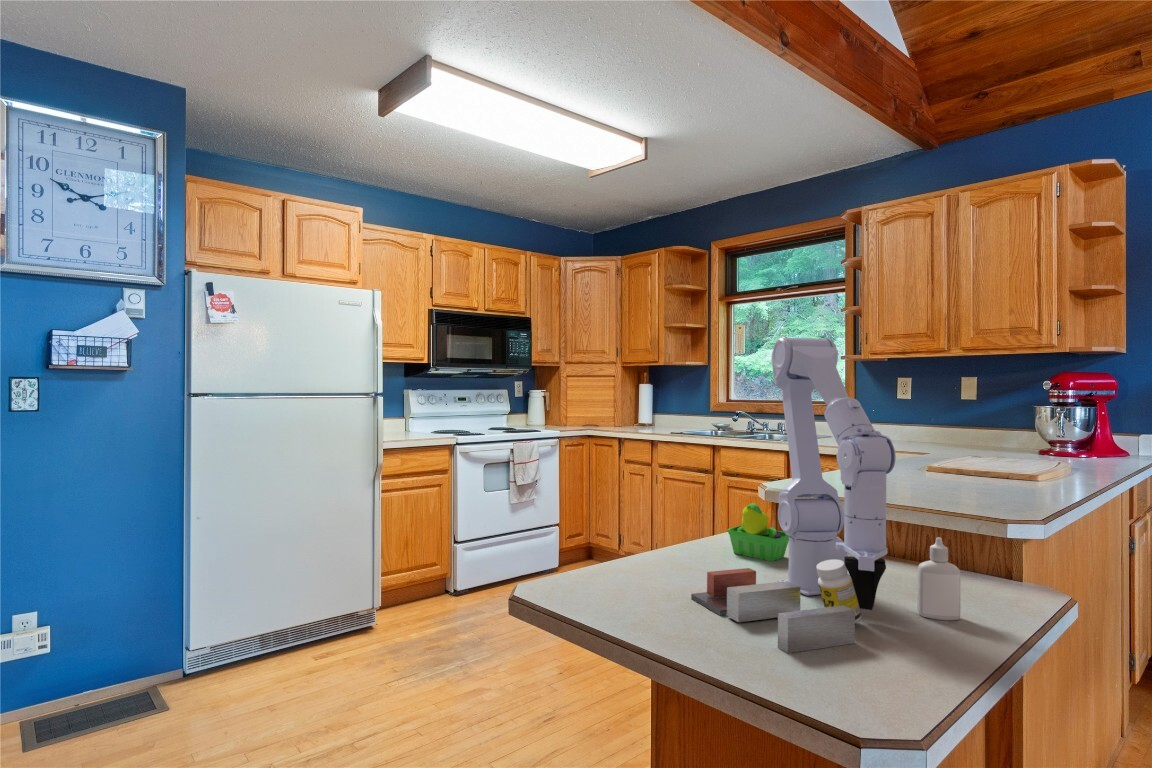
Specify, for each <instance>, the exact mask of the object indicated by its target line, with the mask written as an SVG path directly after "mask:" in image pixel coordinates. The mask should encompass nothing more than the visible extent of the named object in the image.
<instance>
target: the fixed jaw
mask: <svg viewBox="0 0 1152 768" xmlns="http://www.w3.org/2000/svg"><path fill="white" fill-rule="evenodd" d="M855 631H856V623H855V610H854V609H852V608H850V607H847V606H845V605H842V606H834V607H826V608H825V607H820V608H819V607H818V608H811V609H803V610H801V609H800V611H793V612H785V613H778V617H777V648H778V649H780V650H781V651H783V652H785V653H786V654H790V653H791V654H793V653H798V652H804V651H811V650H817V649H825V648H831V647H839V646H845V645H846V646H847V645H852V644H855V642H856V641H855V640H856V638H855V636H856V632H855Z"/></svg>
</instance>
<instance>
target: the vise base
mask: <svg viewBox="0 0 1152 768" xmlns="http://www.w3.org/2000/svg"><path fill="white" fill-rule="evenodd" d="M690 596H691V597H690V598H691V600H693V601H694V602H696V603H698V604H699V605H701V606H703V607H704V608H706V609H708V610H710V611H711V612H714V613H715V614H716V615H719V616H720V617H721V616H727V596H720V597H712V596H711V595H709V594H707V591H705V592H695V593H691V595H690Z"/></svg>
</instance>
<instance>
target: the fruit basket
mask: <svg viewBox="0 0 1152 768" xmlns="http://www.w3.org/2000/svg"><path fill="white" fill-rule="evenodd" d="M768 524H769V517H768V515H767V514H766V513H765V512H764V511H763V510H762V509H761V507H760V506H759V505H758V504H757V503H752V502H751V503H749V504H747V505H746V506H745V507H744V508H743V509H742V517H741V525H738V526H737V525H736V526H734V527H730V528H727V532H728V535H729V539H730V543H731V546H732V551H733V553H734V554H735V553H736V554H737V555H740V554H741V555H742V556H744V557H750V558H753V559H754V558H755V559H758V558H759V559H760V560H765V561H769V562H774V561H778V560H780V559H781V558H784V557H785V555H786V551H787V547H788V545H789V535H786V534H785V532H784V531H783V530H782V531H781V530H777V529H775V528H774V527H773V526H770V527H768ZM736 554H735V555H736Z"/></svg>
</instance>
